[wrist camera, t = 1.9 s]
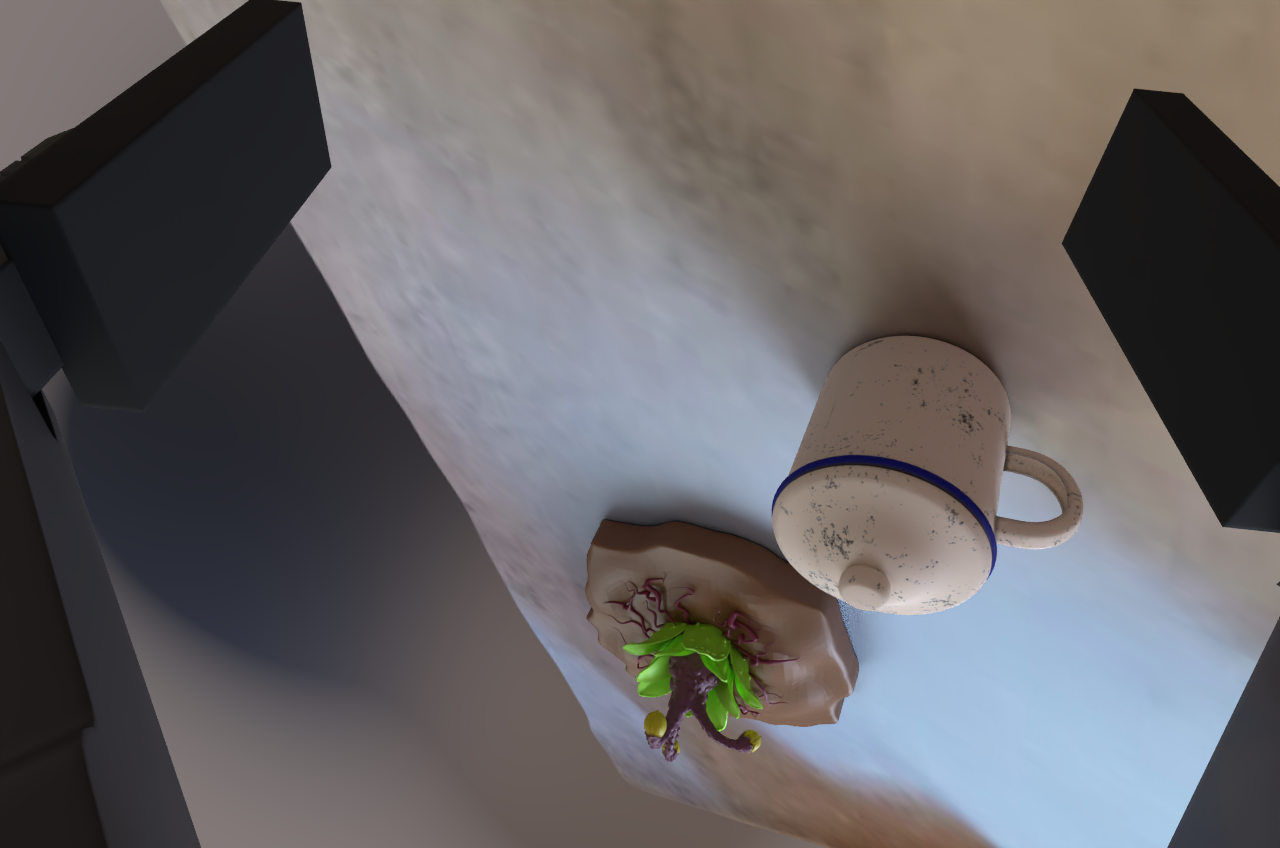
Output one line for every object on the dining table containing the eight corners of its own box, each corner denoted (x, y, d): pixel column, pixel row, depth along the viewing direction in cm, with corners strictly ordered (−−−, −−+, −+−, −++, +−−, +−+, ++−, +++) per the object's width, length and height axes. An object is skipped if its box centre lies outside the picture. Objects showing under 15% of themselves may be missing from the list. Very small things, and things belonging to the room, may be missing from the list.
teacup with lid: (822, 456, 45) (758, 635, 38) (817, 317, 39) (740, 498, 32) (1070, 496, 41) (1053, 710, 33) (1108, 345, 35) (1098, 566, 27)
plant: (860, 555, 50) (811, 726, 42) (860, 722, 63) (823, 875, 55) (562, 495, 58) (479, 631, 50) (617, 654, 70) (557, 780, 63)
